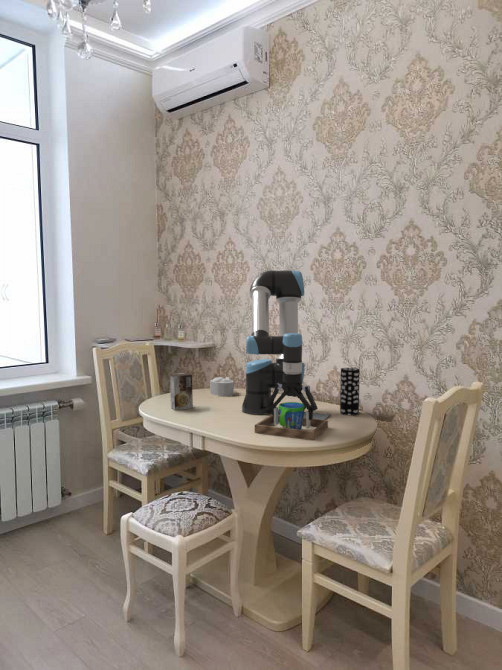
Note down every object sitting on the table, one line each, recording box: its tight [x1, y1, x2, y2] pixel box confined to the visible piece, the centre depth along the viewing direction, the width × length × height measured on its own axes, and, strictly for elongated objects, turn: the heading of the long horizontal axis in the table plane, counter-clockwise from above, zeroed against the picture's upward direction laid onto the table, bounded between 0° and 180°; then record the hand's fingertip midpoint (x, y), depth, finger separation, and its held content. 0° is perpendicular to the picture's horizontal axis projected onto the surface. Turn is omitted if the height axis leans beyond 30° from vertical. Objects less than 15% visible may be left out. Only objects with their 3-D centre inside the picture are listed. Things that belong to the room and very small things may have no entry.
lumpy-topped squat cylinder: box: [209, 376, 235, 397], centre depth 274 cm, size 10×13×9 cm
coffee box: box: [169, 372, 194, 411], centre depth 242 cm, size 9×6×16 cm
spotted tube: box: [339, 367, 361, 416], centre depth 232 cm, size 8×8×20 cm
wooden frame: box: [254, 414, 329, 441], centre depth 205 cm, size 24×19×3 cm
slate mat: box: [303, 411, 331, 420], centre depth 224 cm, size 15×15×1 cm
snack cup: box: [277, 401, 307, 430], centre depth 205 cm, size 16×10×10 cm
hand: (291, 425), depth 205 cm, fingers open, 13 cm apart
